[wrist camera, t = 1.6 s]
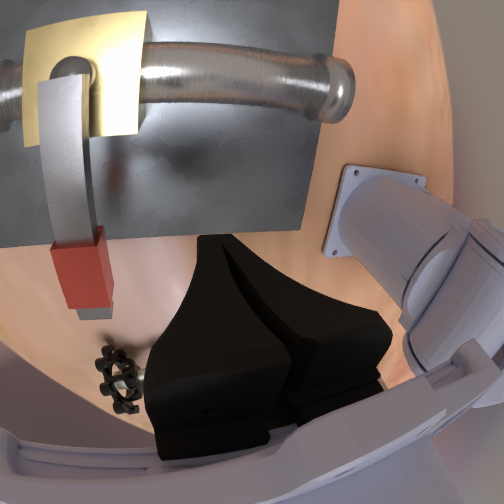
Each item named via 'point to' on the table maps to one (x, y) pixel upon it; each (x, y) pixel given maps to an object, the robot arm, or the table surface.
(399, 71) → the table surface
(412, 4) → the table surface
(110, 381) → the valve
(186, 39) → the pipe stand
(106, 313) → the valve lever
